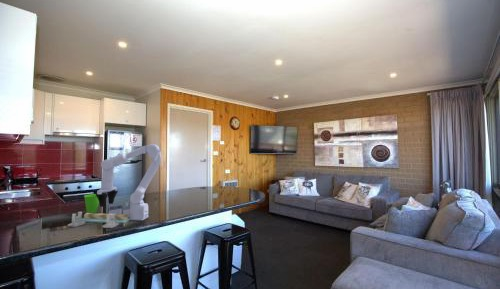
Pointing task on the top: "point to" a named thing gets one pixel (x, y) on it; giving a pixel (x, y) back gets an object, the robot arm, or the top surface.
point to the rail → (105, 216)
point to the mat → (103, 220)
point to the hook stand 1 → (76, 220)
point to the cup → (91, 203)
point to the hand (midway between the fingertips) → (106, 205)
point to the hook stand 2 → (110, 221)
